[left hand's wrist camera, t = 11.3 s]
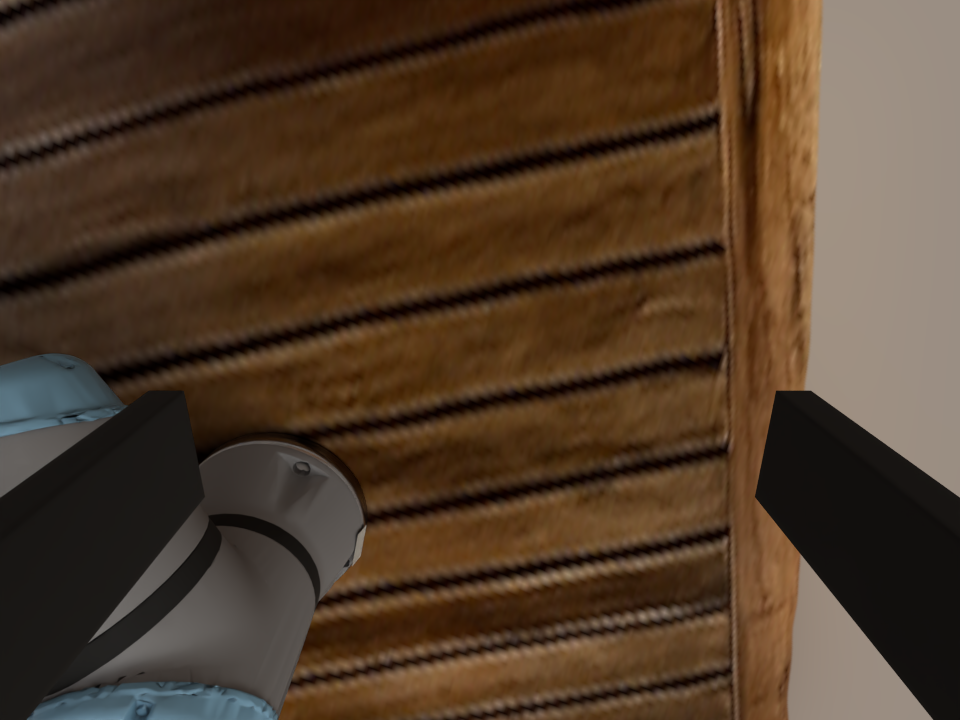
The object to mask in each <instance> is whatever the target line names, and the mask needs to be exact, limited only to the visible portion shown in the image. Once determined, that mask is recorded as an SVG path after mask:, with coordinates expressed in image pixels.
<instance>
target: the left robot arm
mask: <svg viewBox="0 0 960 720" xmlns="http://www.w3.org/2000/svg"><path fill="white" fill-rule="evenodd" d="M755 498H756V499H757V500H758V501H759V503H760V504H761V505H762V506H763V508H764V509H765V510H766V511H767V513H768V514H769V515H770V516H771V518H772V519H773V520H774V521H775V523H776V524H777V525H778V526H779V528H780V529H781V530H782V531H783V533H784V534H785V535H786V536H787V538H788V539H789V540H790V541H791V543H792V544H793V545H794V546H795V548H796V549H797V550H798V551H799V553H800V554H801V555H802V556H803V558H804V559H805V560H806V561H807V563H808V564H809V565H810V566H811V568H812V569H813V570H814V571H815V573H816V574H817V575H818V576H819V578H820V579H821V580H822V581H823V583H824V584H825V585H826V586H827V588H828V589H829V590H830V591H831V592H832V594H833V595H834V596H835V597H836V599H837V600H838V601H839V602H840V604H841V605H842V606H843V607H844V609H845V610H846V611H847V612H848V614H849V615H850V616H851V617H852V619H853V620H854V621H855V622H856V624H857V625H858V626H859V627H860V629H861V630H862V631H863V632H864V634H865V635H866V636H867V637H868V639H869V640H870V641H871V642H872V644H873V645H874V646H875V647H876V649H877V650H878V651H879V652H880V654H881V655H882V656H883V657H884V659H885V660H886V661H887V662H888V664H889V665H890V666H891V667H892V669H893V670H894V671H895V672H896V674H897V675H898V676H899V677H900V679H901V680H902V681H903V682H904V684H905V685H906V686H907V687H908V689H909V690H910V691H911V692H912V694H913V695H914V696H915V697H916V699H917V700H918V701H919V702H920V704H921V705H922V706H923V707H924V709H925V710H926V711H927V712H928V714H929V715H930V716H931V717H932V719H933V720H960V497H958V496H957V495H955V494H954V493H953V492H951V491H950V490H948V489H947V488H946V487H944V486H943V485H941V484H940V483H939V482H937V481H936V480H934V479H933V478H932V477H930V476H929V475H927V474H926V473H925V472H923V471H922V470H921V469H919V468H918V467H916V466H915V465H914V464H912V463H911V462H909V461H908V460H907V459H905V458H904V457H902V456H901V455H900V454H898V453H897V452H895V451H894V450H893V449H891V448H890V447H888V446H887V445H886V444H884V443H883V442H882V441H880V440H879V439H877V438H876V437H874V436H873V435H872V434H870V433H869V432H868V431H866V430H865V429H863V428H862V427H861V426H859V425H858V424H856V423H855V422H854V421H852V420H851V419H849V418H848V417H847V416H845V415H844V414H842V413H841V412H840V411H838V410H837V409H835V408H834V407H833V406H831V405H830V404H828V403H827V402H826V401H824V400H823V399H822V398H820V397H819V396H817V395H816V394H815V393H813V392H812V391H776V394H775V399H774V404H773V409H772V414H771V419H770V424H769V429H768V434H767V439H766V444H765V449H764V454H763V459H762V464H761V469H760V474H759V479H758V484H757V489H756V494H755ZM366 526H367V506H366V501H365V497H364V494H363V491H362V489H361V487H360V485H359V483H358V481H357V480H356V478H355V477H354V475H353V474H352V472H351V471H350V470H349V469H348V468H347V467H346V465H345V464H344V463H343V462H342V461H340V460H339V459H338V458H337V457H336V456H334V455H333V454H332V453H331V452H329V451H327V450H326V449H324V448H323V447H321V446H319V445H317V444H315V443H313V442H311V441H308V440H306V439H303V438H300V437H296V436H292V435H287V434H281V433H256V434H250V435H245V436H241V437H238V438H235V439H233V440H230V441H228V442H226V443H224V444H222V445H221V446H219V447H218V448H216V449H215V450H214V451H213V452H211V453H210V454H209V455H208V456H207V457H206V458H205V460H204V461H203V462H202V463H201V464H200V465H199V464H198V459H197V454H196V449H195V444H194V439H193V434H192V429H191V424H190V419H189V414H188V409H187V404H186V399H185V394H184V391H148V392H147V393H145V394H144V395H143V396H141V397H140V398H138V399H137V400H136V401H134V402H133V403H131V404H130V405H129V406H128V405H124V404H123V403H122V401H121V400H120V399H119V398H118V397H117V396H116V395H115V393H114V392H113V391H112V390H111V389H110V388H109V386H108V385H107V384H106V383H105V382H104V381H103V380H102V378H101V377H100V376H99V375H98V374H97V373H96V371H95V370H94V369H93V368H92V367H91V366H90V365H89V364H88V363H86V362H85V361H83V360H81V359H79V358H77V357H75V356H71V355H67V354H59V353H52V354H43V355H37V356H33V357H29V358H26V359H22V360H18V361H15V362H12V363H8V364H5V365H1V366H0V720H278V718H279V715H280V712H281V709H282V706H283V703H284V700H285V697H286V694H287V691H288V688H289V685H290V682H291V679H292V677H293V674H294V671H295V668H296V665H297V662H298V659H299V656H300V653H301V650H302V647H303V644H304V641H305V638H306V635H307V632H308V629H309V626H310V623H311V620H312V617H313V614H314V612H315V609H316V606H317V603H318V602H319V601H320V599H321V598H322V597H323V596H324V595H325V594H326V593H327V592H328V590H329V589H330V588H331V587H332V585H333V584H334V582H335V581H337V580H338V579H339V578H340V577H341V576H342V575H343V574H344V573H345V572H346V571H347V570H348V568H349V567H350V566H351V565H352V566H353V565H354V563H355V562H356V561H357V560H358V559H359V557H360V556H361V551H362V546H363V541H364V535H365V530H366ZM352 563H353V564H352Z"/></svg>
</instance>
